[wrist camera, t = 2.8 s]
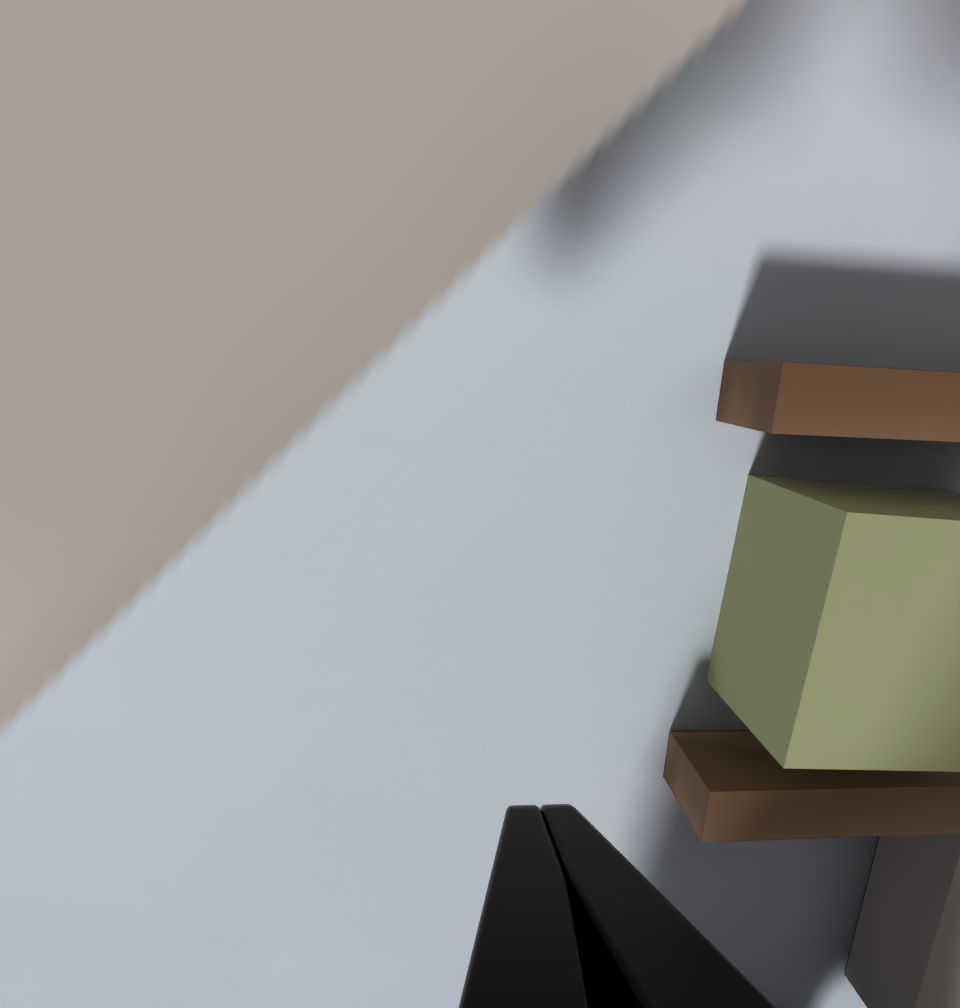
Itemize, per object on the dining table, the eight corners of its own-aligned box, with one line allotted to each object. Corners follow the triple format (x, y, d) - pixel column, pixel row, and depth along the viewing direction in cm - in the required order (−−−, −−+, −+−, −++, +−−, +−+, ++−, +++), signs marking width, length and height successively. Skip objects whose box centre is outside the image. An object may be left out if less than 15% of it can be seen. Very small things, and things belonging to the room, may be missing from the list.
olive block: (891, 683, 18) (1017, 773, 15) (703, 676, 18) (783, 768, 14) (947, 489, 17) (1103, 531, 13) (744, 473, 16) (847, 512, 12)
